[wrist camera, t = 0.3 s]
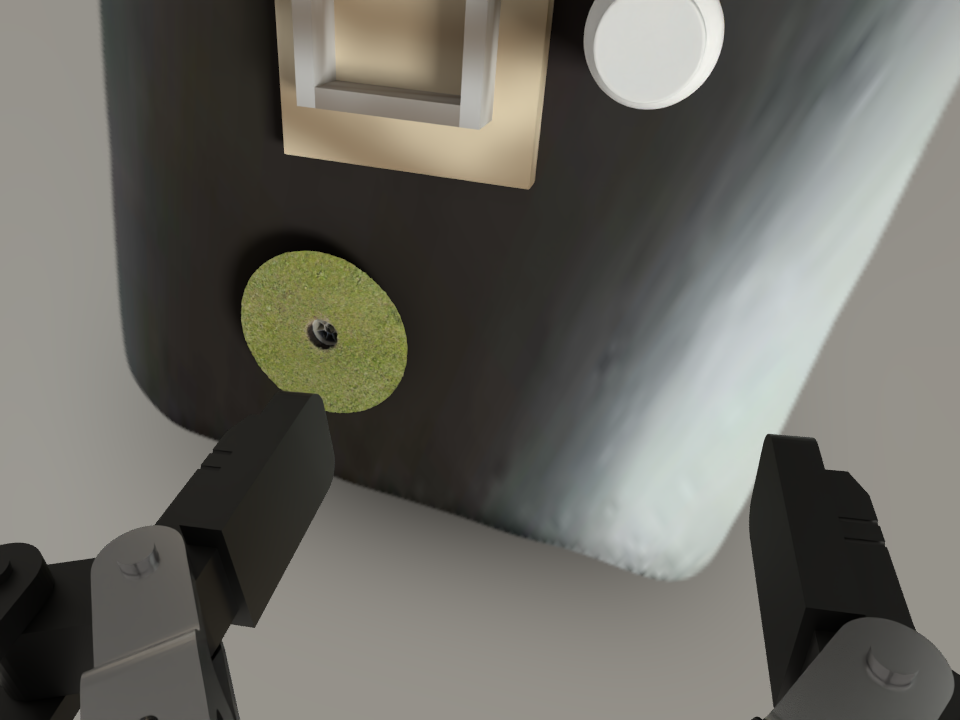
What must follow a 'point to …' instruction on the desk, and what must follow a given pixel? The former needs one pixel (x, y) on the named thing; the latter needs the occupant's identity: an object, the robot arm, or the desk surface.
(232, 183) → the desk surface
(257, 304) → the green disc with hole
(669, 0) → the supplement bottle
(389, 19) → the socket board
